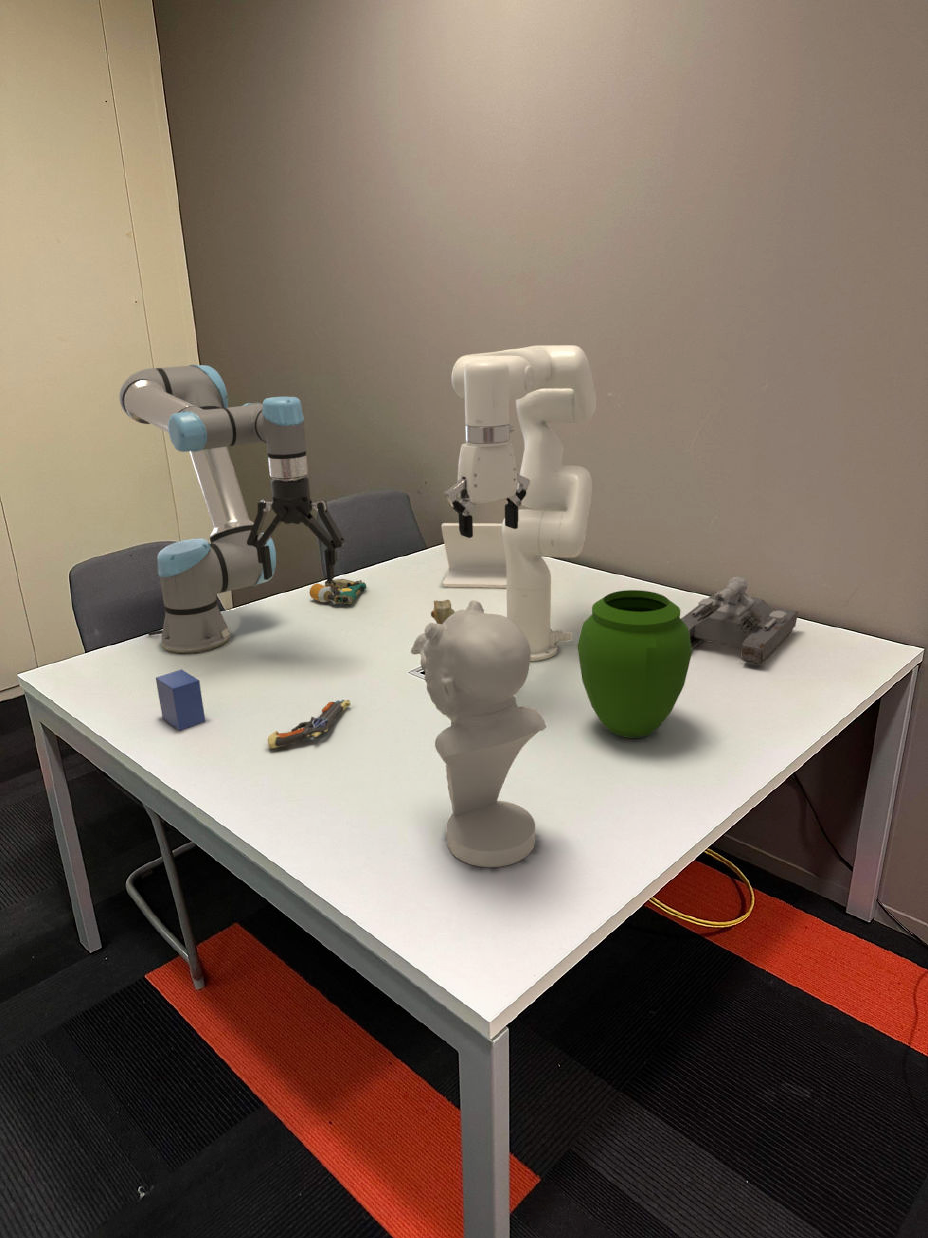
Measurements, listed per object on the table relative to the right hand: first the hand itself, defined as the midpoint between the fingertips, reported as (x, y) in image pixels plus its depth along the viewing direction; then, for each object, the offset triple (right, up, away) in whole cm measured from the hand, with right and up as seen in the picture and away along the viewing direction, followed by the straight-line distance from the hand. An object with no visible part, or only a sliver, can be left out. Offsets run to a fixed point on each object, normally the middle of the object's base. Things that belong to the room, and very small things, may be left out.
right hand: (489, 531), depth 153 cm
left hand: (-39, -7, +25) cm, 47 cm away
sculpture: (-8, -27, +27) cm, 39 cm away
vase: (+25, -35, +1) cm, 44 cm away
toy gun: (-33, -36, +4) cm, 49 cm away
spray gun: (-37, -10, +74) cm, 83 cm away
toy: (+55, -21, +37) cm, 70 cm away
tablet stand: (+3, -4, +85) cm, 86 cm away
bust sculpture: (-4, -47, -28) cm, 55 cm away
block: (-58, -35, +9) cm, 68 cm away
